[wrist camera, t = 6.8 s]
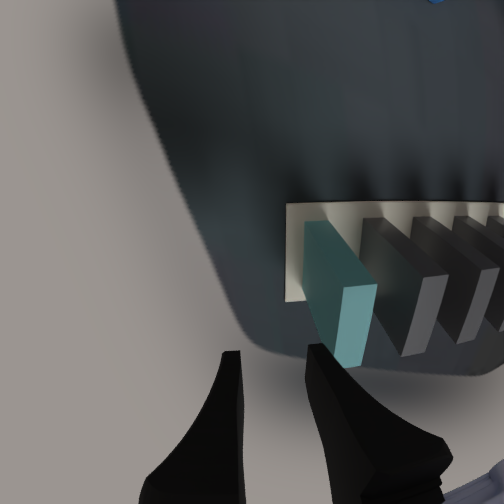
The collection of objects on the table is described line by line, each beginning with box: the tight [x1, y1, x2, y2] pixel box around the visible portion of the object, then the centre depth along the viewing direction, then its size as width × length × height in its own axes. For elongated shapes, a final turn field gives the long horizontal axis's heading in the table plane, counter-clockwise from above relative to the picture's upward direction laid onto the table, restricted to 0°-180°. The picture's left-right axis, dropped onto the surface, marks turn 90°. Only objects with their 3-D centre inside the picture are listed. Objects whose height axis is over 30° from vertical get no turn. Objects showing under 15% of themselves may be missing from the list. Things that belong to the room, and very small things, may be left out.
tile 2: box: [359, 217, 449, 357], centre depth 18 cm, size 2×5×8 cm, turn 2°
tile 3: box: [410, 216, 500, 344], centre depth 18 cm, size 2×5×8 cm, turn 2°
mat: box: [285, 201, 504, 302], centre depth 22 cm, size 20×7×1 cm, turn 92°
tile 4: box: [452, 216, 504, 332], centre depth 19 cm, size 2×5×8 cm, turn 2°
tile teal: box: [302, 220, 377, 368], centre depth 18 cm, size 2×5×8 cm, turn 2°
